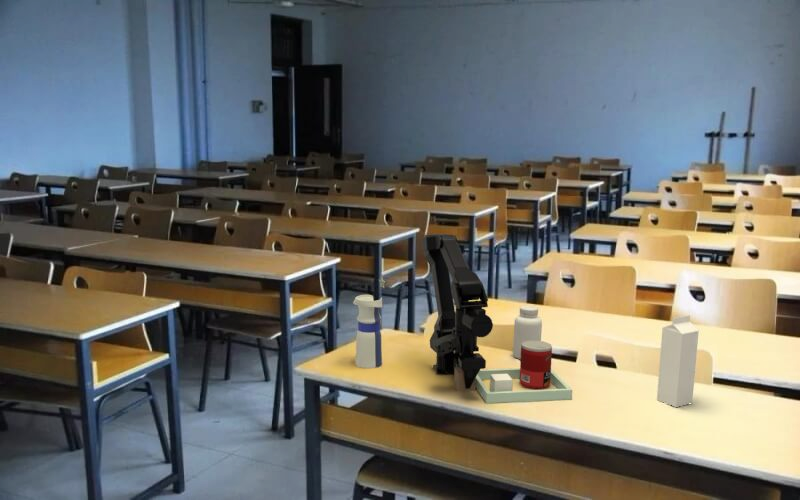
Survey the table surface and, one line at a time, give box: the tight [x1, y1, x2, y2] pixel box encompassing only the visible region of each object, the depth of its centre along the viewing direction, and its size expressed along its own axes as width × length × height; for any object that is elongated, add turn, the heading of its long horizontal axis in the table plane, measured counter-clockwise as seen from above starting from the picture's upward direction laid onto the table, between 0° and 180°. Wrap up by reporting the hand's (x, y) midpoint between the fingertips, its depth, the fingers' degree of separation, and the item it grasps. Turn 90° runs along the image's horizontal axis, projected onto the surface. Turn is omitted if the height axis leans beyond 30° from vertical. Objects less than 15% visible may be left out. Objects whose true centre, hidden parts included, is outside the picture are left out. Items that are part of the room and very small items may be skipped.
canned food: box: [519, 340, 553, 390], centre depth 190 cm, size 8×8×11 cm
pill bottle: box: [512, 305, 543, 360], centre depth 212 cm, size 8×8×15 cm
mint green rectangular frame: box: [475, 367, 573, 404], centre depth 188 cm, size 17×22×2 cm
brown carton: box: [453, 367, 476, 392], centre depth 188 cm, size 4×4×5 cm
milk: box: [656, 315, 699, 408], centre depth 178 cm, size 6×6×22 cm
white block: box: [489, 374, 514, 392], centre depth 183 cm, size 4×4×5 cm
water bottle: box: [352, 276, 386, 369], centre depth 204 cm, size 8×9×25 cm
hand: (464, 383), depth 188 cm, fingers open, 6 cm apart
